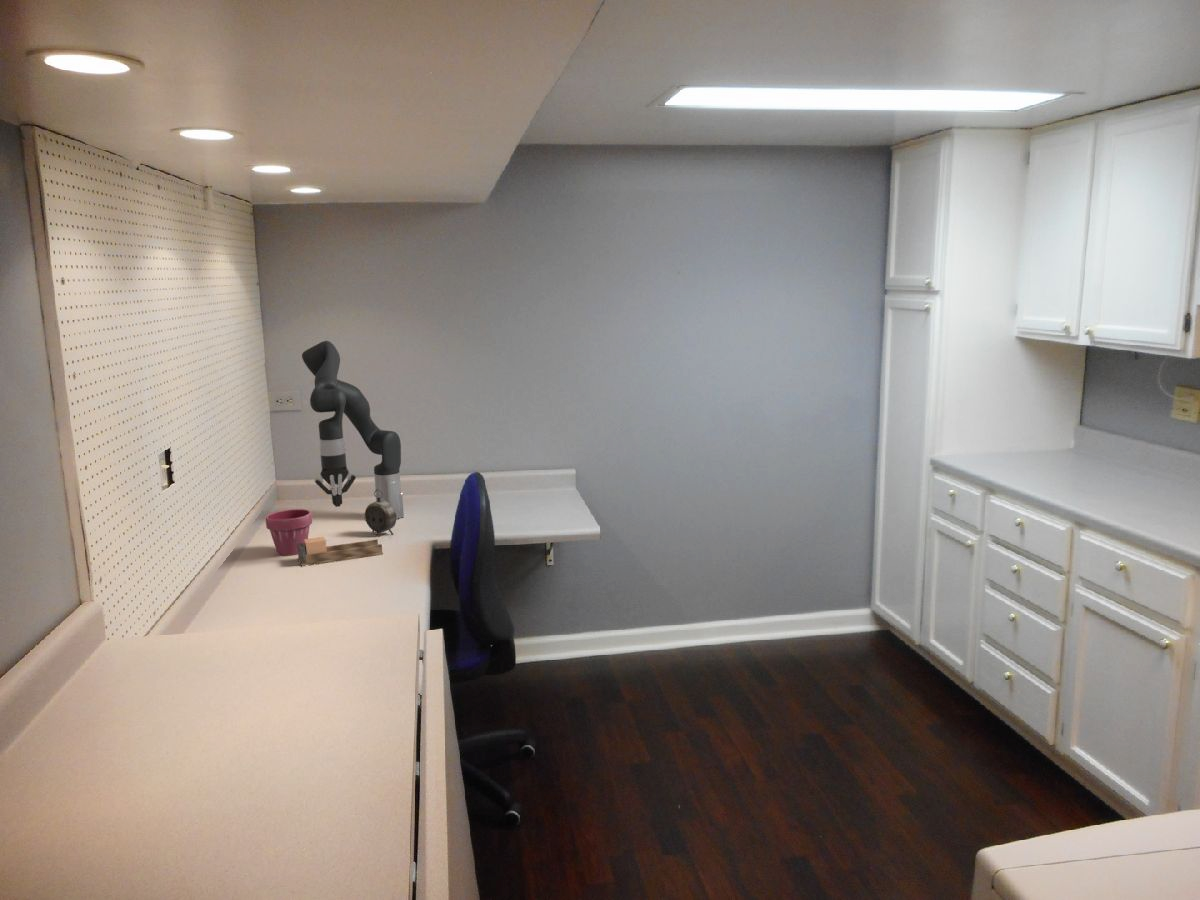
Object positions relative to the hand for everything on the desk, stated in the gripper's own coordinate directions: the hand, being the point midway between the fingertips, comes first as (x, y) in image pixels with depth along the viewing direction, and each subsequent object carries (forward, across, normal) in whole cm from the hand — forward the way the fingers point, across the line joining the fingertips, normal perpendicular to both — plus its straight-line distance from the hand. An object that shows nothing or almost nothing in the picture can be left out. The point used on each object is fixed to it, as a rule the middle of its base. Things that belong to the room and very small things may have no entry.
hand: (337, 506), depth 272 cm
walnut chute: (+17, 0, 0) cm, 17 cm away
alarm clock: (+17, -17, -20) cm, 31 cm away
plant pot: (+17, +14, -14) cm, 26 cm away
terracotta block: (+17, +8, 0) cm, 18 cm away
